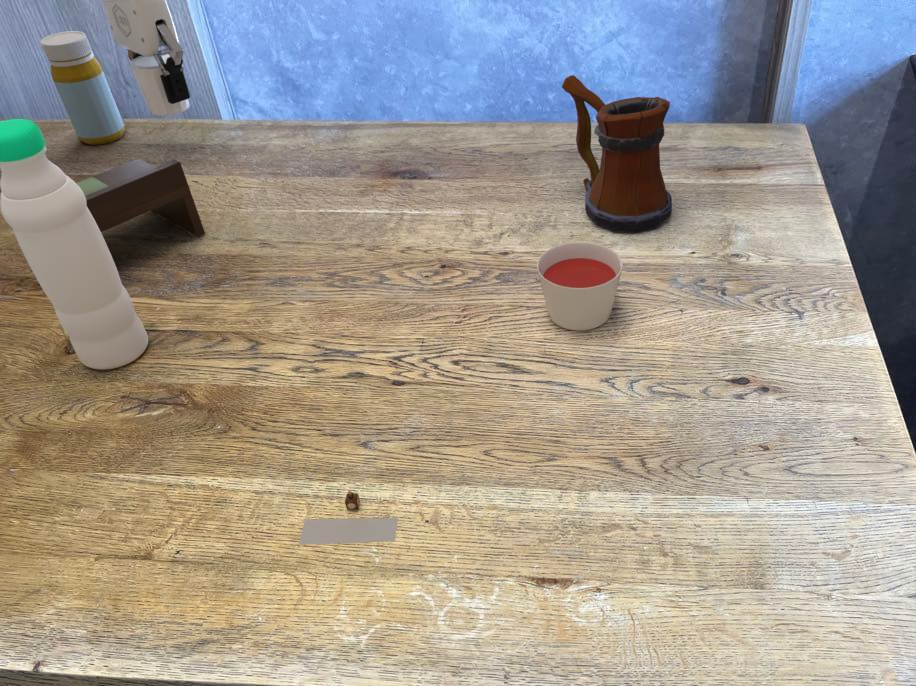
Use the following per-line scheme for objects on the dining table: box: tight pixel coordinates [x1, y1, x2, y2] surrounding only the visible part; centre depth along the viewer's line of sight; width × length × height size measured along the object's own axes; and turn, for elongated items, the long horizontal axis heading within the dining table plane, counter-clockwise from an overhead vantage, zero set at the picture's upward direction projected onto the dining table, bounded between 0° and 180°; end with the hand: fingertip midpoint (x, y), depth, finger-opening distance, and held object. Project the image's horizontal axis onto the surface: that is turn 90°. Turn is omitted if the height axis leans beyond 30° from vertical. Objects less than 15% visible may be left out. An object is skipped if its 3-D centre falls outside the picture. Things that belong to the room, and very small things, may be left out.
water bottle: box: [0, 118, 149, 371], centre depth 79 cm, size 7×7×25 cm
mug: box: [561, 74, 673, 233], centre depth 103 cm, size 18×12×15 cm, turn 38°
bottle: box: [40, 30, 126, 146], centre depth 124 cm, size 7×7×15 cm
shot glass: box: [129, 54, 191, 117], centre depth 118 cm, size 7×7×7 cm
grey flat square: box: [298, 490, 399, 546], centre depth 70 cm, size 8×8×2 cm
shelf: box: [75, 158, 206, 238], centre depth 101 cm, size 12×16×10 cm
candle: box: [536, 241, 623, 331], centre depth 88 cm, size 9×9×6 cm
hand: (165, 93), depth 119 cm, fingers closed on shot glass, 6 cm apart
